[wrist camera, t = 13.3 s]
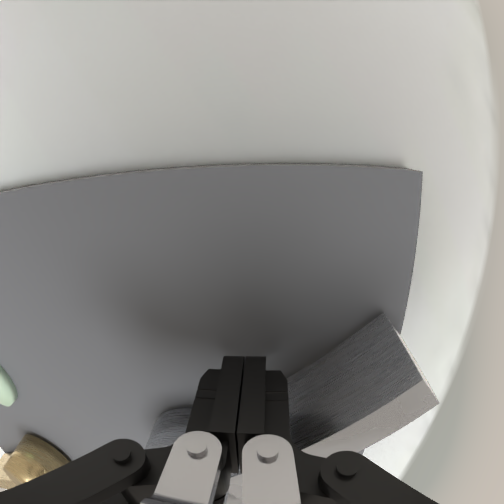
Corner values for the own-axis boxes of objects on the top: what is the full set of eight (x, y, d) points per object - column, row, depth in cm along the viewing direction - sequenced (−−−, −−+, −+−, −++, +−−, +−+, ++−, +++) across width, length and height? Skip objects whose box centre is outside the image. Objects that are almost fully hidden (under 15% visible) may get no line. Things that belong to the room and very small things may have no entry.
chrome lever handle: (203, 470, 15) (192, 524, 11) (136, 427, 14) (112, 483, 10) (416, 358, 12) (452, 422, 8) (361, 282, 11) (399, 346, 7)
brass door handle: (37, 431, 16) (13, 467, 12) (84, 472, 17) (67, 508, 13) (-8, 442, 19) (-24, 466, 15) (26, 473, 20) (12, 497, 16)
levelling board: (-86, 213, 13) (-105, 221, 11) (405, 168, 11) (433, 174, 9) (25, 463, 22) (18, 476, 20) (326, 515, 20) (327, 534, 18)
